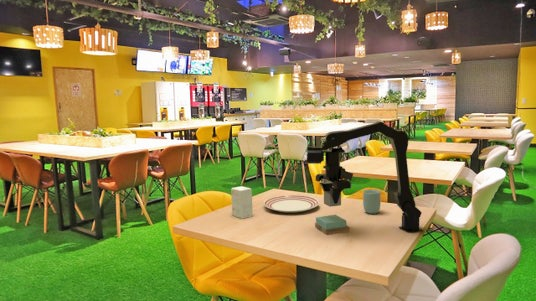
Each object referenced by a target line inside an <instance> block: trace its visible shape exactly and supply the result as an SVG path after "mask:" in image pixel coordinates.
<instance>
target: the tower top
mask: <svg viewBox="0 0 536 301" xmlns="http://www.w3.org/2000/svg"><path fill="white" fill-rule="evenodd" d="M315 223H317V224H318V225H320V226H321V227H323V228H324V229H326V230H328V229H334V228H341V227H347V226H348V225H347V220H346V219H345V218H342V217H341V216H338V215H337V214H331V215H323V216H317V217H315Z"/></svg>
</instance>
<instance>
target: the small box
mask: <svg viewBox="0 0 536 301" xmlns="http://www.w3.org/2000/svg"><path fill="white" fill-rule="evenodd" d="M230 191H231V194H230V195H231V214H232V216H234V217H237V218H239V219H245V218H249V217H250V218H251V217H253V216H254V215H253V214H254V211H253V190H252V188H251V187H248V186H247V187H246V186H242V185H241V186H236V187H231V188H230Z"/></svg>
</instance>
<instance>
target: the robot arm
mask: <svg viewBox="0 0 536 301" xmlns="http://www.w3.org/2000/svg"><path fill="white" fill-rule="evenodd" d="M376 133H377V134H378V133H380V134H382V135H383V136H385V137H387V138H389V139H388V140H389V141H390V146H391V148H392V150H393V152H394V158H395V169H396V178H397V188H398V189H397V192H393V195H394V202H395V204H396V206H397V207H398V208H399V209H400V210H401V214H402V215H401V226H398V229H400V230H402V231H405V232H407V233H415V232H421V231H423V228H420V217H421V216H422V211H421V210H420V209H419V208H418V207H417V206H416V202H415V198H414V196H413V193H412V190H411V188H410V177H409V167H408V160H407V159H408V158H407V153H408V148H409V135H408V134H407V132H406V131H403V130H401V129H396V128H393V127H391V126H389V125H387V124H386V123H385V122H382V121H378V120H377V121H376V122H373V123H371V124H370V123H369V124H365V125H362V126H359V127H355V128H350V129H348V130H335V131H329V132H328V133H326V135H325V138H324V141H323V142H322V144H321V146H307V147H306V149H307V150H306V152H307V153H306V164H307V165H311V164H313V165H315V164H316V165H317V164H318V165H319V164H322V162H325V163H324V164H325V165H323V169H324V170H325V173H317V174H316V175H315V181H316V182H318V184H319V185H320V187H321V189H322V191H323V193H324V192H325V191H331V194H332V197H333V201H334V204H337V202H338V200H339V197H340V194H341V195H342V192H343V190H345V189H347V190H348V189H351V188H352V182H351V181H352V179H353V176H354V173H353V172H350V171H346V168H344V167H343V166H341V153H342V154H344V153H346V150H345V149H343V147H342V146H341V145H343V144H345V143H347V142H349V141H351V140H354V139H358V138H362V137H366V136H370V135H373V134H376ZM324 154H325V155H324ZM324 160H325V161H324Z"/></svg>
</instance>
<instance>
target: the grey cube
mask: <svg viewBox="0 0 536 301" xmlns="http://www.w3.org/2000/svg"><path fill="white" fill-rule="evenodd" d="M323 204H324V205H326V206H328V207H330V208H331V207H339V206H341V205H342V193H341V194H340V197H339V200H338V202H337V204H334V201H333V197H332V194H331V191H325V192H324V191H323Z"/></svg>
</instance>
